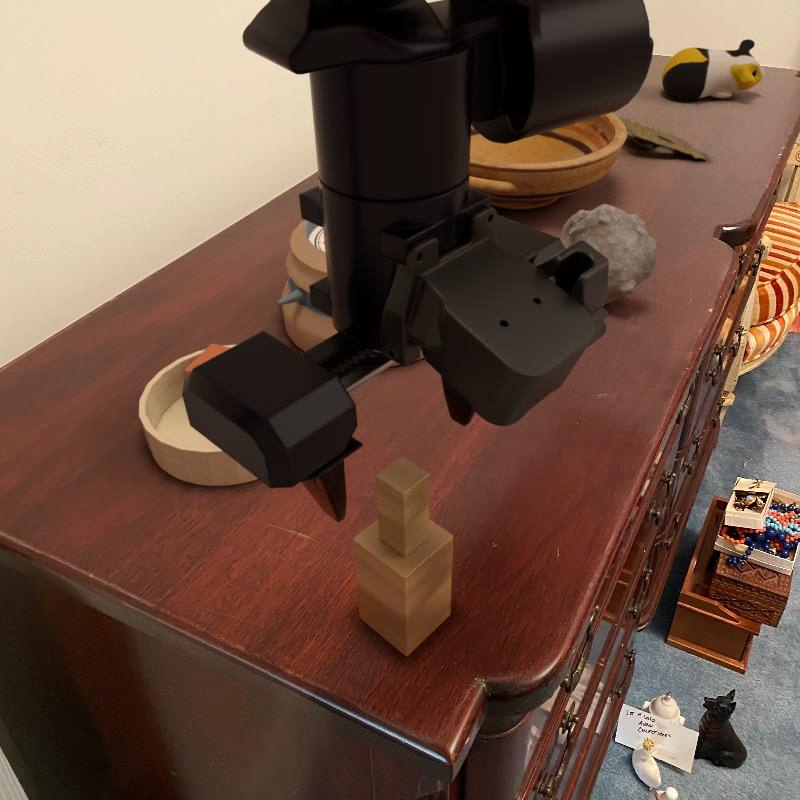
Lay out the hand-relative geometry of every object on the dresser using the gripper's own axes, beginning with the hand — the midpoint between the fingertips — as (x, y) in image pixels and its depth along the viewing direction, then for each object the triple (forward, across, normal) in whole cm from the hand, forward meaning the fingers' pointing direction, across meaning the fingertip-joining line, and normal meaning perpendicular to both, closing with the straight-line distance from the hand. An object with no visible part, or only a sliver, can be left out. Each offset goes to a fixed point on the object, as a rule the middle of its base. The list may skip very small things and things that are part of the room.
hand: (401, 465), depth 39 cm
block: (+13, +5, +25) cm, 28 cm away
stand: (+13, 0, 0) cm, 13 cm away
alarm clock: (+13, +25, +26) cm, 39 cm away
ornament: (+13, +77, +26) cm, 83 cm away
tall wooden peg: (+6, 0, 0) cm, 6 cm away
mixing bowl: (+13, +4, +22) cm, 26 cm away
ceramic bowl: (+13, +54, +32) cm, 64 cm away
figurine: (+13, +101, +30) cm, 106 cm away
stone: (+13, +39, +11) cm, 43 cm away
